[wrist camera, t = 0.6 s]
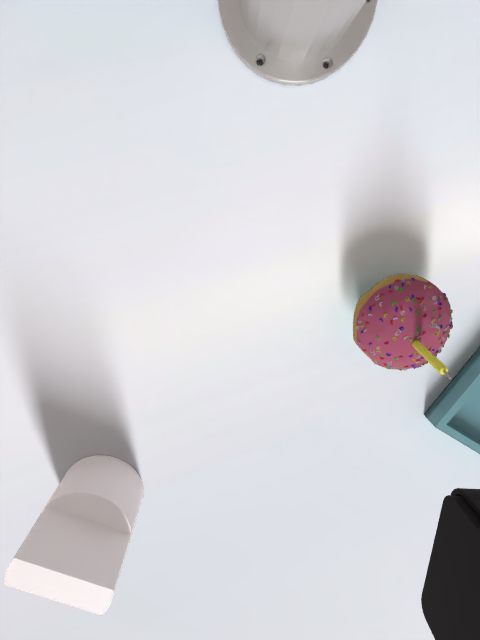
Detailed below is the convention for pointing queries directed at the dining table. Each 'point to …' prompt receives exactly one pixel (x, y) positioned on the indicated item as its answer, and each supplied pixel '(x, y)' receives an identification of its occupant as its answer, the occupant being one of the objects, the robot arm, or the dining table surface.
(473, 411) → the tray
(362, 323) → the cupcake
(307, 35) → the robot arm
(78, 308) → the dining table surface
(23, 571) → the base with upright slab
